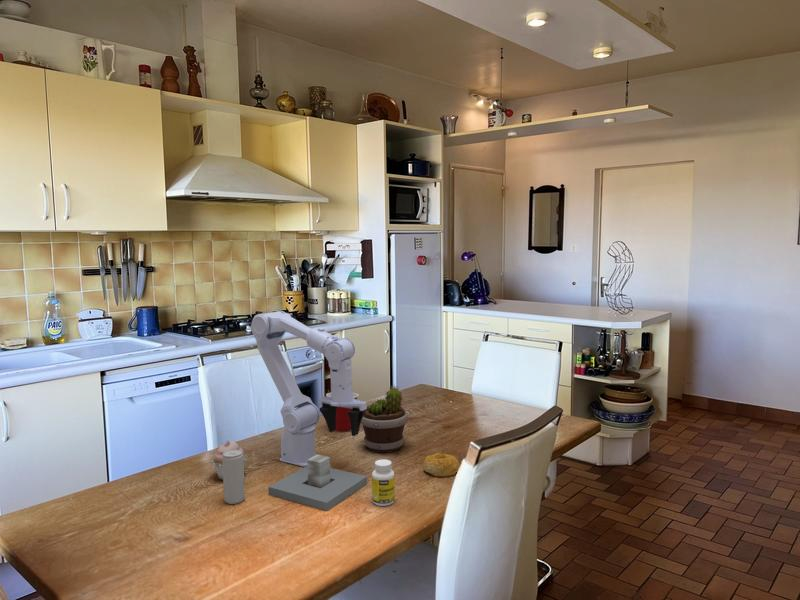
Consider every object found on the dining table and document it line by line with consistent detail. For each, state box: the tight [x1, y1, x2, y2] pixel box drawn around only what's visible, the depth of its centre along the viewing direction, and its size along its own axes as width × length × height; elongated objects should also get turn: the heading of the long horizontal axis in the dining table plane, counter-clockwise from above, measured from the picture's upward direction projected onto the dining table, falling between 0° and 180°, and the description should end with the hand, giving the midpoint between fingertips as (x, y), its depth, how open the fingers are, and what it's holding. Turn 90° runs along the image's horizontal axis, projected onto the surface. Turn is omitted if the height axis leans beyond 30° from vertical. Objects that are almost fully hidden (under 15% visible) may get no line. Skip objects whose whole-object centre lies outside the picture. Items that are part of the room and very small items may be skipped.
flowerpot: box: [360, 384, 409, 453], centre depth 173 cm, size 14×15×20 cm
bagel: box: [422, 452, 461, 478], centre depth 156 cm, size 10×11×5 cm
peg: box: [307, 454, 331, 488], centre depth 145 cm, size 4×4×8 cm
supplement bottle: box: [371, 459, 396, 507], centre depth 137 cm, size 5×5×10 cm
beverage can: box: [222, 449, 246, 505], centre depth 138 cm, size 5×5×12 cm
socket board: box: [268, 466, 368, 512], centre depth 145 cm, size 18×17×2 cm
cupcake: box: [211, 440, 249, 481], centre depth 153 cm, size 9×9×10 cm
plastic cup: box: [325, 391, 360, 433], centre depth 190 cm, size 11×11×12 cm
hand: (343, 433), depth 156 cm, fingers open, 7 cm apart
